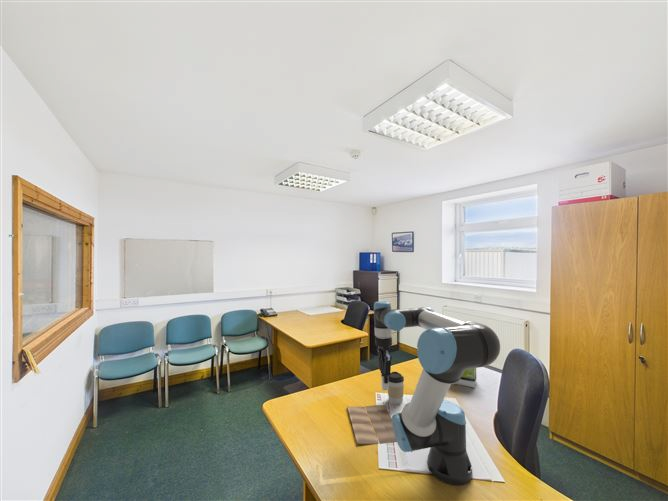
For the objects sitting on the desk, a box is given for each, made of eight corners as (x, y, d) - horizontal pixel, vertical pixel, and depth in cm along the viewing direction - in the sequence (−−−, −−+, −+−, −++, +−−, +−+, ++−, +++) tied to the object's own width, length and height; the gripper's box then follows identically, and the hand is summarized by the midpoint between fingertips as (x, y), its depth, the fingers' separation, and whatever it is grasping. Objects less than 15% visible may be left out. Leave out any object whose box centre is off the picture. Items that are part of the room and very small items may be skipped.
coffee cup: (405, 408, 144) (404, 378, 144) (386, 406, 146) (386, 377, 146) (404, 398, 153) (403, 371, 153) (387, 397, 155) (386, 370, 155)
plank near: (378, 446, 117) (378, 442, 117) (357, 446, 116) (357, 443, 116) (370, 425, 130) (371, 423, 130) (351, 425, 129) (351, 422, 129)
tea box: (476, 381, 170) (476, 356, 170) (474, 388, 162) (474, 362, 162) (450, 376, 178) (449, 352, 178) (446, 382, 170) (446, 357, 170)
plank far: (370, 425, 131) (370, 422, 131) (351, 425, 130) (351, 422, 130) (364, 409, 144) (364, 406, 144) (347, 408, 143) (347, 406, 143)
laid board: (403, 444, 118) (403, 441, 118) (379, 446, 117) (379, 443, 117) (384, 407, 146) (384, 404, 146) (365, 408, 145) (365, 406, 145)
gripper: (396, 339, 122) (399, 395, 121) (386, 331, 134) (388, 382, 134) (380, 341, 120) (382, 397, 120) (370, 333, 133) (372, 383, 133)
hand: (385, 389), depth 127 cm, fingers closed
